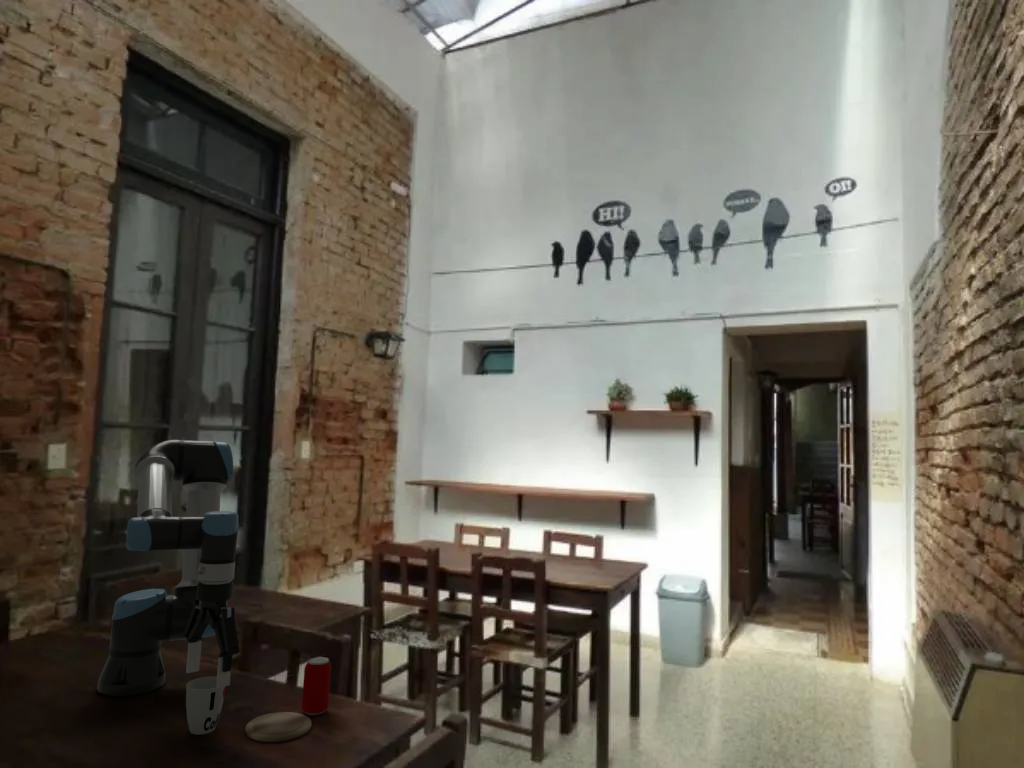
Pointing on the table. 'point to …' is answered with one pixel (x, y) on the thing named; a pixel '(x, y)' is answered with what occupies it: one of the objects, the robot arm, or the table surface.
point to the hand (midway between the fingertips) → (207, 679)
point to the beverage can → (316, 686)
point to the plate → (278, 727)
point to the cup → (203, 704)
